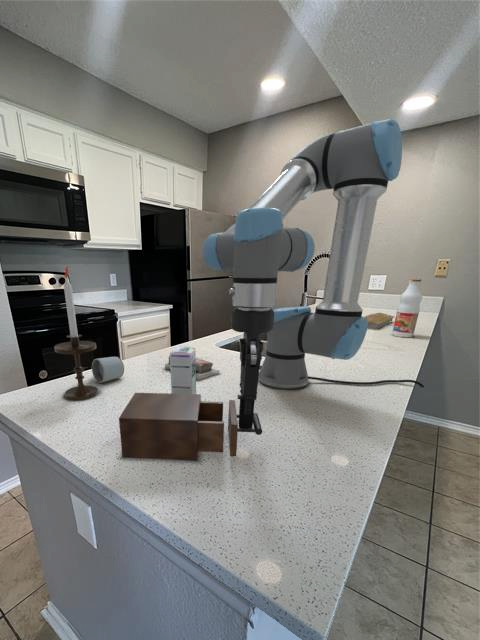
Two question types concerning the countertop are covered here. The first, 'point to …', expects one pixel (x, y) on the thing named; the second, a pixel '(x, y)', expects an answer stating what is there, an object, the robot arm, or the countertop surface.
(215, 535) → the countertop surface
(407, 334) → the fruit juice
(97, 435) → the countertop surface
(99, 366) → the light blue cylinder
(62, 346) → the candlestick
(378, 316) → the brown flat block
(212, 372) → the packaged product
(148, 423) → the cabinet
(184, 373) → the syrup box
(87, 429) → the countertop surface
